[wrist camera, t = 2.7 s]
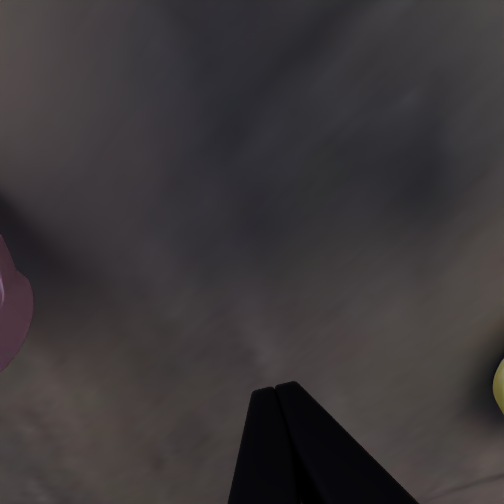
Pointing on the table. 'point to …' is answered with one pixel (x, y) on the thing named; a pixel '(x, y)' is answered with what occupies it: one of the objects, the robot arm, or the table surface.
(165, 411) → the table surface
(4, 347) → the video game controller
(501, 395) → the flower pot
